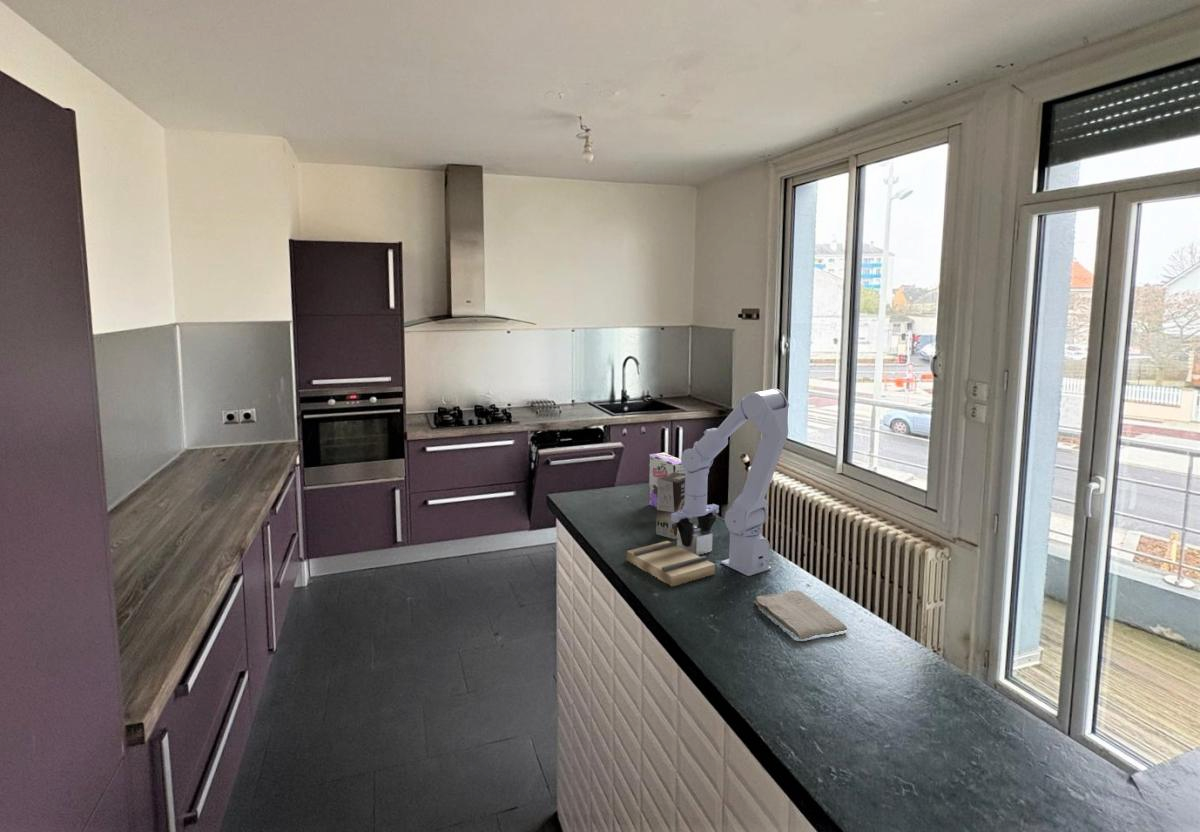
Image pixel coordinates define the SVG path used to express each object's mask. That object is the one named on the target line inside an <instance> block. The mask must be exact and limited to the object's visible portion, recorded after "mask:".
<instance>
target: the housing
mask: <svg viewBox="0 0 1200 832" xmlns="http://www.w3.org/2000/svg"><path fill="white" fill-rule="evenodd" d="M713 535H714V534H713V533H712V532H711V531H710V532H709V531H706V530H704V529H702V528H701V526H699V524H694V525H693V527H692V530H691V535H690V545H689V547H686V546H684V545H682V541H681V536H680V533H679V530H678V528H677V538H676V542H677V546H679V547H681V548H683V549H685V550H687V551H689V552H692V553H694V554H696V555H698V556H700V554H701V555H704V553H705V554H708V552H709V553H712V552H713V538H714V537H713ZM711 551H712V552H711Z"/></svg>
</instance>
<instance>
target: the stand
mask: <svg viewBox="0 0 1200 832" xmlns="http://www.w3.org/2000/svg"><path fill="white" fill-rule="evenodd" d="M626 561H627V562H628V561H629V562H628V563H631V564H632V563H633V564H632V565H634V566H635V565H636V567H637V568H638V569H641V570H642V571H644V572H645V573H647V572H648V573H647V574H649V573H650V574H649V575H651V576H653V577H654V576H655V578H656V577H657V579H658V580H659V581H660V582H661V581H662V582H663V583H665V584H666V583H667V585H668V584H669V586H670V587H672V586H673V587H676V586H679V585H682V583H683V584H686V583H689V581H690V582H693V581H696V580H700V579H703V578H706V576H707V577H710V576H713V575H716V573H715V572H716V564H715V563H713V562H712V561H709V559H707V556H705V555H703V556H700V555H696V554H694V553H692V552H689V551H687V550H685V549H683V548H681V547H679V546H677V541H672V542H671V541H669V540H665V541H661V542H658V543H652V544H650V545H646V546H641V547H638V548H633V549H629V550H626ZM692 580H693V581H692Z"/></svg>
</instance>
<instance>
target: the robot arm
mask: <svg viewBox="0 0 1200 832" xmlns="http://www.w3.org/2000/svg"><path fill="white" fill-rule="evenodd" d="M789 407H790V403H789V401H788V400H787V397H786V395H785V394H784V393H783V392H782V391H781V390H780V389H778V388H775V387H774V388H773V387H772V388H769V389H767V390H761V391H760V390H759V391H752V392H748V393H747V394H745V396H744V397H743V398H742V399H740V400H739V401H738V403H737V405H736V406H735V407H734V409H733V410H731V412H730V413H729V414H728V415H727V417H726V418H725V419H724V420H723V421H722V422H721V424H720V425H719V426H718V427H712V428H708V429H705V431H703V434H704V435H703V436H702V437H701V438H700V439H699V440H698V441H695V442H694V443H693V447H692V448H686V449H684V451H683V452H682V454H681V455H680V459H681V463H682V466H683V467H684V469H685V505H684V506H683V509H681V510H679V511H677V512H675V513H672V514H671V521H673V522H675V524H676V526H677V528H678V530H679V533H680V536H681V541H682V545H684V546H686V547H689V545H690V535H691V530H692V527H693V525H695V524H694V523H693V522H692V523H691V522H689V520H688V519H689V518H692V519H693V518H697V523H698V524H697V525H699V526H701V528H702V529H704V530H706V531H709V532H711V529H712V527H713V525H714V523H716V521H717V516H716V515H714V514H718V513H719V512H720V509H719V508H720V505H718V504H715V503H712V504H708V479H709V478H708V477H709V476H708V475H709V473H710V468H711V467H712V465H713V462H714V459H715V458H716V457H717V456H718V455H719V454H720V453H721V452H722V451H723V450H724V449H725V448H726V447H727V446H728V444H729V439H728V438H729V437H731V436H732V434H734V433H735V432H736V431H737V430H738V429H739V428H741V426H743V425H744V424H745V423H746V422H747V421H748V420H749V421H750V422H751V423H752V424H753V426H754V427H756V429H757V430H758V431H759V432H760V435H761V438H760V440H759V443H758V446H757V449H756V452H755V454H754V457H753V460H752V463H751V466H750V469H749V472H748V474H747V477H746V479H745V482H744V486H743V489H742V491H741V493H740V494H739V495H738V496H737V498H736V499H734V501H733V502H732V505H731V506H730V508H729V509H728V510H726V512H725V515H724V522H725V525H726V528H727V529H728V532H729V552H728V553H729V554H728V558H727V559H723V560H721V561H720V563H721V564H722V565H724V566H727V567H728V568H731V569H732V570H735V571H737V572H739V573H741V574H743V575H744V576H748V577H749V576H752V575H756V574H759V573H763V572H766V571H769V570H772V567H771V566H770V555H771V554H770V552H771V551H770V550H771V545H770V542H769V540H768V539H767V538H766V537H764V536H763V534H762V532H761V530H762V525H763V524H765V523H766V521H767V519H768V517H767V516H768V512H767V508H768V505H769V502H768V501H767V499H766V496H767V495H766V494H767V492H768V490H769V488H770V485H771V483H772V482H771V481H772V479H773V476H774V474H775V471H776V468H777V466H778V462H779V460H780V457H781V456H782V455H781V454H782V453H783V451H784V450H783V449H784V446H785V444H786V441H787V438H788V436H789V424H788V410H789Z"/></svg>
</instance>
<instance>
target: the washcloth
mask: <svg viewBox="0 0 1200 832" xmlns="http://www.w3.org/2000/svg"><path fill="white" fill-rule="evenodd" d="M755 599H756V600H753V603H755V604H756V605H757V606H758V607H760V608H761V609H763V610H764V611H766V612H767V613H768V614H769V615H771V616H772V617H773V618H775V619H776V620H777V621H778V622H779V623H781V624H782V625H783V626H784V627H785V628H787V629H788V630H790V631H791V632H793V633H794V634H795V635H796V636H797V637H799V639H805V638H810V637H812V636H815V635H821V634H830V633H835V632H839V631H844V630H847V631H848V629H847V626H846V624H845V623H844V622H843V621H841V620H839V619H838V618H837V617H836V616H834V615H832V613H830V612H829V611H828V610H827V609H825V608H824V607H822V606H821V605H820V604H818V602H816V601H814V600H813V599H812V598H810V597H808V595H806V593H804V592H802V591H800V590H797V589H796V590H790V591H788V592H783V593H769V594H764V595H758V596H757V595H756V596H755ZM755 604H754V605H755ZM756 605H755V606H756ZM757 606H756V607H757Z"/></svg>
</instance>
